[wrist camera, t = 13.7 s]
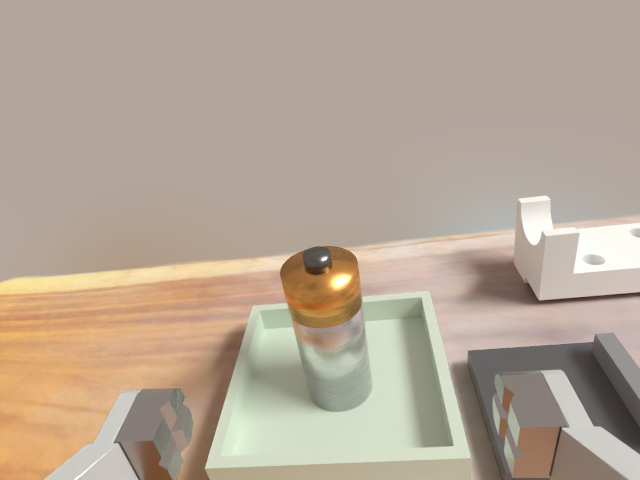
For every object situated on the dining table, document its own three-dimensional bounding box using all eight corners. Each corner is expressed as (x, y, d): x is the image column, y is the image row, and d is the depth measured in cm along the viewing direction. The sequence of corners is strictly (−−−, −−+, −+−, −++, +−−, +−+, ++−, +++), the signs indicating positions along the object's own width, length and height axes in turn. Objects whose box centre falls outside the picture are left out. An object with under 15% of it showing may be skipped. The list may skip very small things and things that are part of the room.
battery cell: (304, 414, 33) (271, 280, 27) (310, 362, 38) (282, 237, 32) (374, 410, 33) (356, 272, 27) (372, 358, 37) (355, 230, 31)
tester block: (504, 487, 27) (507, 453, 26) (467, 364, 36) (468, 333, 34) (685, 482, 26) (700, 446, 24) (602, 355, 35) (609, 323, 33)
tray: (217, 496, 30) (204, 468, 28) (259, 330, 43) (252, 305, 42) (470, 488, 28) (470, 458, 26) (430, 317, 41) (429, 290, 40)
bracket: (537, 308, 41) (546, 236, 37) (513, 265, 47) (517, 198, 43) (695, 296, 39) (720, 218, 35) (648, 252, 45) (666, 182, 42)
